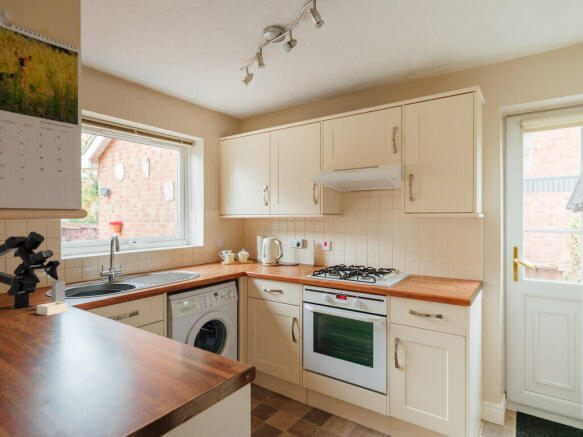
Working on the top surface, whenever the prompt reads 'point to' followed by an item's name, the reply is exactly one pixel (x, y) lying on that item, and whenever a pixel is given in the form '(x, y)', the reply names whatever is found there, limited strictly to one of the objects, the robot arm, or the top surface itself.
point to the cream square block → (52, 308)
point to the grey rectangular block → (58, 291)
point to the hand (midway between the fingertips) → (48, 280)
